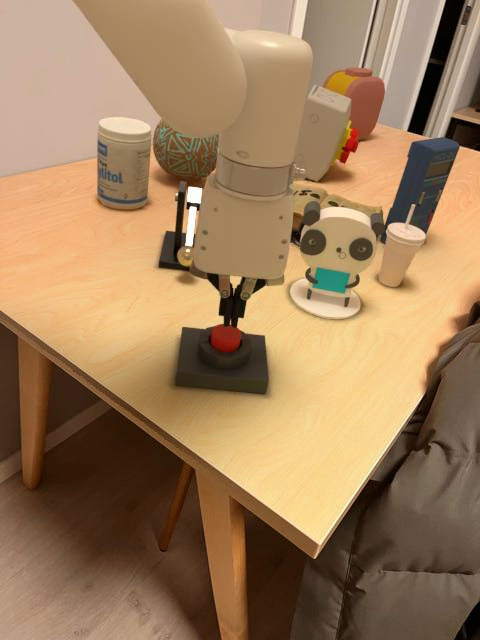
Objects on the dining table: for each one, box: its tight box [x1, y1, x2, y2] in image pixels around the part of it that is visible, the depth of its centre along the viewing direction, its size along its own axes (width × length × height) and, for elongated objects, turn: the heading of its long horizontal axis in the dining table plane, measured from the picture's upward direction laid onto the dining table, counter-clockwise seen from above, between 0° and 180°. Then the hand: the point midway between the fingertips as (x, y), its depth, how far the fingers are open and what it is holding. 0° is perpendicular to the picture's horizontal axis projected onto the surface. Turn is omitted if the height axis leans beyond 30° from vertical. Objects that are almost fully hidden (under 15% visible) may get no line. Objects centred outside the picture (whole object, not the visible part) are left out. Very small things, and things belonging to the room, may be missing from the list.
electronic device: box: [380, 136, 461, 244], centre depth 101 cm, size 10×5×20 cm, turn 129°
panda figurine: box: [289, 201, 385, 320], centre depth 80 cm, size 12×11×15 cm
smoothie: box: [378, 204, 427, 288], centre depth 88 cm, size 6×6×14 cm
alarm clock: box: [322, 67, 386, 141], centre depth 158 cm, size 18×11×19 cm, turn 130°
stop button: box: [211, 323, 242, 352], centre depth 65 cm, size 4×4×2 cm
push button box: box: [174, 325, 270, 395], centre depth 66 cm, size 11×9×4 cm
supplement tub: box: [96, 116, 152, 211], centre depth 99 cm, size 10×10×15 cm
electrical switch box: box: [294, 84, 360, 183], centre depth 128 cm, size 15×15×20 cm
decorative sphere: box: [152, 118, 219, 182], centre depth 112 cm, size 15×15×15 cm
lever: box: [177, 186, 203, 266], centre depth 82 cm, size 13×3×3 cm
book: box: [290, 182, 384, 246], centre depth 103 cm, size 25×17×6 cm
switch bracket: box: [158, 180, 196, 272], centre depth 86 cm, size 11×9×12 cm
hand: (230, 320), depth 63 cm, fingers closed
